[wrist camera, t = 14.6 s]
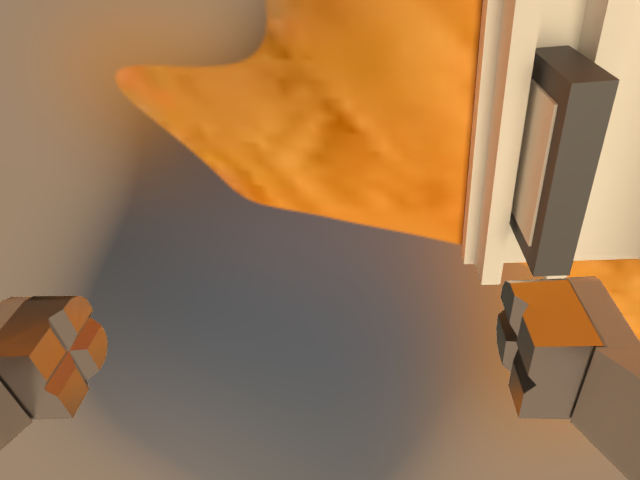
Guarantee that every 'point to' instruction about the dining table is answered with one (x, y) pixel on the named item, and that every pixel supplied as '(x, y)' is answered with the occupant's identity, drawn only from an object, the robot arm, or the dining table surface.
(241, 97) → the dining table surface
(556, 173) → the picture frame
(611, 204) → the picture ledge
